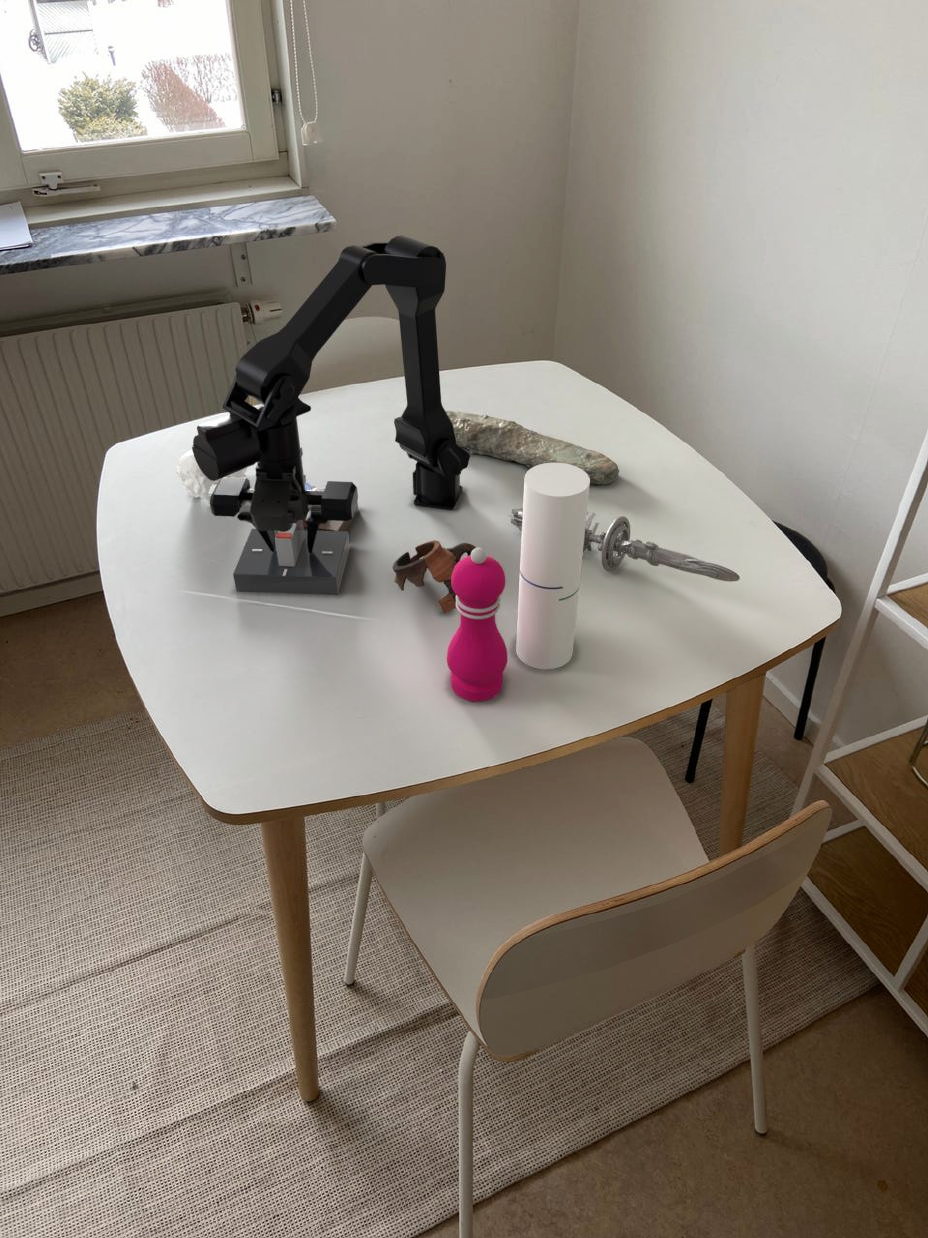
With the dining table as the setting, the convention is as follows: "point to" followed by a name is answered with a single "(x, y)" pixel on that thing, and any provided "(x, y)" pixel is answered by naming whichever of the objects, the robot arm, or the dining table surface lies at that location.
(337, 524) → the button block
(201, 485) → the white animal figurine
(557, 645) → the cylindrical container
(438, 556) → the broken clay pot shards
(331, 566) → the rotary switch base
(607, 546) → the silver sword
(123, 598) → the dining table surface
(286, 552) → the rotary switch knob
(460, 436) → the elongated rock
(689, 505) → the dining table surface
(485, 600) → the pepper mill
